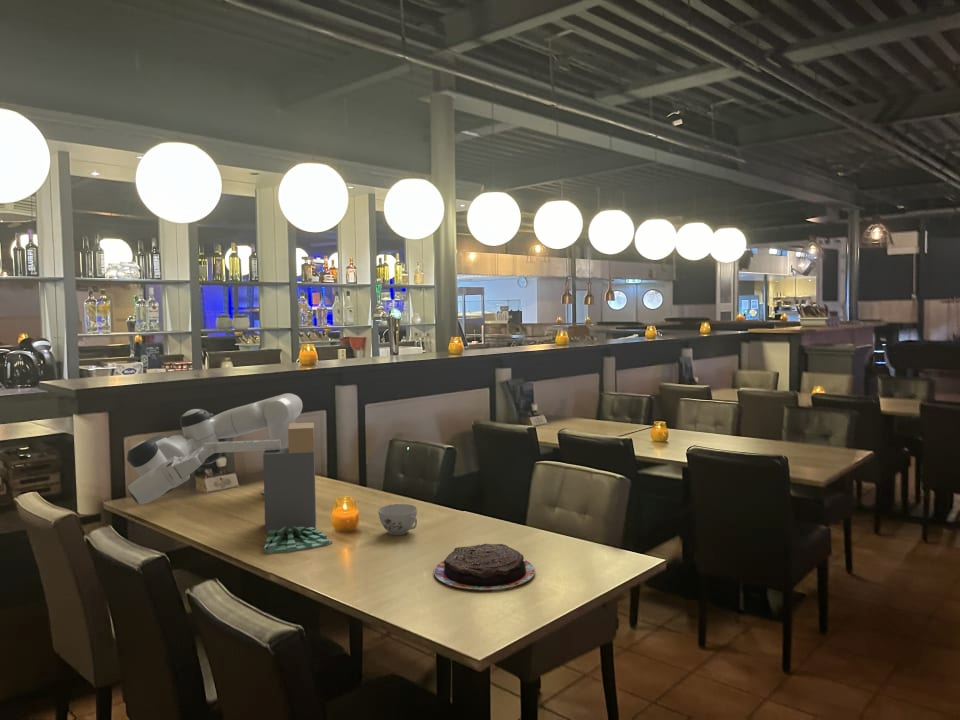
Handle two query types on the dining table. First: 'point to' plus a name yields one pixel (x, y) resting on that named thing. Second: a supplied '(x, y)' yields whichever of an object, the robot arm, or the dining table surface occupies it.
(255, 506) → the dining table surface
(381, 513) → the teacup
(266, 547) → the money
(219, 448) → the light grey bar
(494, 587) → the chocolate cake
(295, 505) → the pedestal
